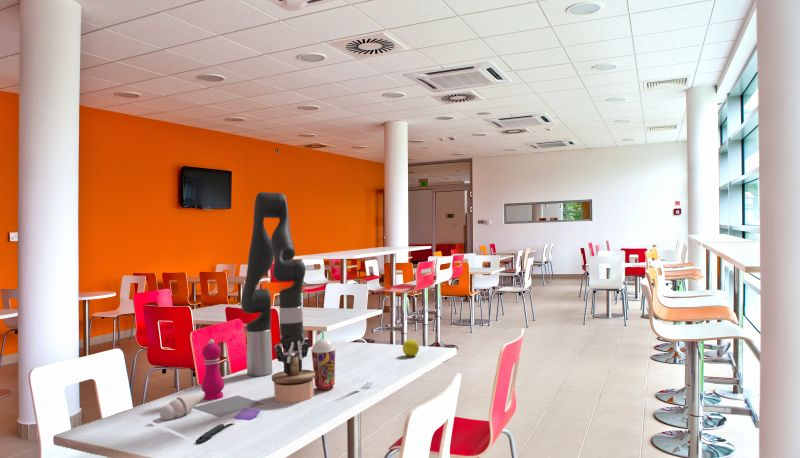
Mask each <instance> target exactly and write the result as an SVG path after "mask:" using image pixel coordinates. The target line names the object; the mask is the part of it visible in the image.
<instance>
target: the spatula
mask: <svg viewBox="0 0 800 458" xmlns="http://www.w3.org/2000/svg"><path fill="white" fill-rule="evenodd" d="M260 412H261V410H260V409H258V408H257V409H254V408H249V409H245V410H242V411H238V412H237V414H236V415H235V416H234V417H233V419H235V420H242V421H252V420H253V419H254V418H256V417H257V416H258V415H259V414H260ZM229 425H236V423H235V422H230V421H229V422H225V423H220V424H218V425H215V426H214V427H213V428H211V429H209V430H208V431H206V432H204V433H203V434H202V435H200V436H199V437H198V438H197V439H196V440H195V444H196V445H200V444H204V443H206V442H207V441H209V440H211V439H212V438H213V437H214V436H215V435H216V434H218V433H219V432H221V431H222V430H223V429H225V427H226V426H229Z"/></svg>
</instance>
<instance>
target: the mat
mask: <svg viewBox="0 0 800 458" xmlns="http://www.w3.org/2000/svg"><path fill="white" fill-rule="evenodd" d="M265 404H266V403H264V402H261V401H257V400H254V399H251V398H247V397H244V396H240V395H234V396H230V397H227V398H223V399H222V398H221V399H218V400H214V401H212V402H208V403H204V404H200V405H198V406H197V405H196V406H195V407H194V408H193V409H195V410H197V411H202V412H204V413H206V414H210V415H213V416H215V417H218V418H222V417H225V416H228V415H231V414H233V413H234V414H235V413H239V412H241V411H242V410H245V409H253V408H254V407H255V408H256V407H258V406H262V405H265Z"/></svg>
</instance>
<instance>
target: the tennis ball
mask: <svg viewBox="0 0 800 458" xmlns="http://www.w3.org/2000/svg"><path fill="white" fill-rule="evenodd" d="M419 350H420V347H419V343H418V342H417V341H416V340H414V339H407V340H406V341H404V342H403V344H402V352H403V353H404V355H405V356H407V357H414V356H416V355H418V353H419Z"/></svg>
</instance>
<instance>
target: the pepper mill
mask: <svg viewBox="0 0 800 458" xmlns="http://www.w3.org/2000/svg"><path fill="white" fill-rule="evenodd" d="M201 353H202V354H201V355H202V357H203V358H204V360H203V361H204V362H203V364H204V366H205V373H204V375H203V376H204V377H203V379H202V382H201V391H202V392H203V393H204V394H202V396H205V395H206V396H205V397H204V398H203V400H204V401H218V400H221V399H222V398H224V393H223V389H225V382H224V379H223V377H222V374H221V371H220V368H219V364H220V363H221V362H220V360H221V359H220V356H221V354H222V349H221V347H220V345H219V344H216V343H215V340H214V339H212V338H211V339H209V340H208V344H206V345H205V346H204V347H203V348H202V350H201Z"/></svg>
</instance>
